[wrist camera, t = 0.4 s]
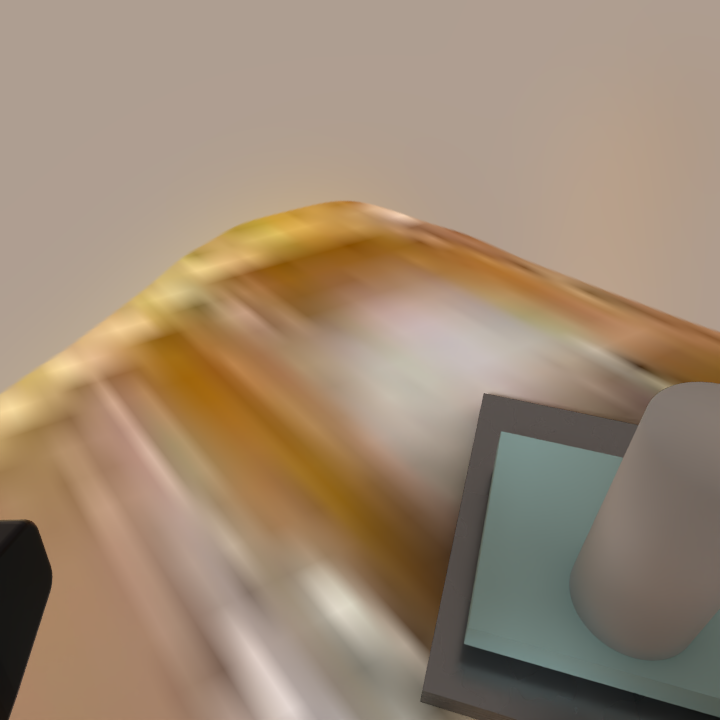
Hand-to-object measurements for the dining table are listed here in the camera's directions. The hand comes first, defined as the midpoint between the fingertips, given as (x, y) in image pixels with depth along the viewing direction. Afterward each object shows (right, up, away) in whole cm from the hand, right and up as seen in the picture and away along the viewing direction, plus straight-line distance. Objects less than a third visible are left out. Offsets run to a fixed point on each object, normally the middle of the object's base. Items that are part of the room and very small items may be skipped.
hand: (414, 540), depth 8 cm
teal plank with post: (+12, -7, +15) cm, 21 cm away
